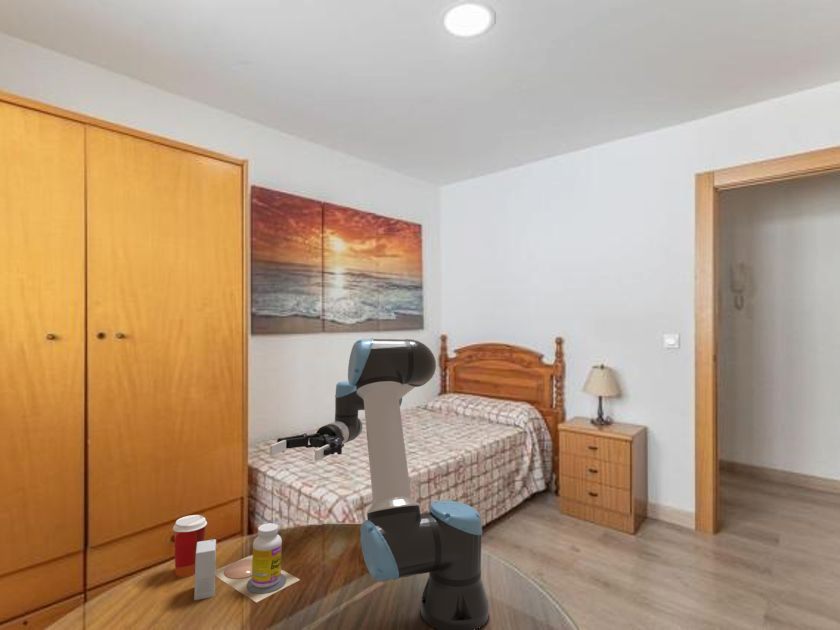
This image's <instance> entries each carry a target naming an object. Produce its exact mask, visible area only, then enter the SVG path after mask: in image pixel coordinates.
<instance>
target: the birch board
mask: <svg viewBox="0 0 840 630" xmlns="http://www.w3.org/2000/svg"><path fill="white" fill-rule="evenodd" d="M252 558H253V554H251V555H248V556H246V557H244V558H242V559H239V560H238V561H240V560H246V559H252ZM230 564H231V563H229V564H226V565H225V566H222V567H220V568H218V569H215V578H217V579H219V580H220V581H222V582H223V583H225V584H227V585H228V586H230V587H231V588H233V589H234V590H236V591H238V592H239V593H241V594H242V595H244V596H245V597H246V598H249V599H250V600H252V601H253V602H254V603H256V604H257V603H259V602H261V601H262V600H264V599H266V598H268V597H270V596H272V595H275V594H276V593H279V592H280V591H282V590H283V589H286V588H287V587H289V586H291V585H294V584H295V583H297V582H299V581H300V580H301V579H299V578H298V577H296V576H294V575H293V574H290V573H288V572H287V571H285V570H283V569H281V574H283V575H284V576H285V577H286V583H285V585H284V586H283V587H282V588H280V589H279V590H277V591H274V592H271V593H266V594H255V593H252V592H250V591H248V589H247V582H248V581H249V580H250V579H251V578H252V576H251V577H248V578H243V579H231V578H228V577H226V576H225V575H224V570H225V568H226V567H227V566H228V565H230Z"/></svg>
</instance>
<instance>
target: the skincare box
mask: <svg viewBox="0 0 840 630" xmlns="http://www.w3.org/2000/svg"><path fill="white" fill-rule="evenodd" d="M216 550H217V539H208V540H204V541H200V542H197V546H196V560H195V575H194V592H193V593H194V595H193V600H194V601H199V600H203V599H209V598H213V597H215V594H216V593H215V592H216V591H215V589H216V576H215V570H216V557H217V554H216V552H217V551H216Z"/></svg>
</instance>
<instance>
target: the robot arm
mask: <svg viewBox="0 0 840 630" xmlns="http://www.w3.org/2000/svg"><path fill="white" fill-rule="evenodd" d="M350 351H351V352H350V355H349V359H348V367H347V368H348V369H347V380H348V381H347V380H346V381H345V380H344V381H338V382H337V384H336V386H335V395H334V397H335V399H334V400H335V401H334V404H335V405H334V406H335V407H334V408H335V410H334V411H335V412H334V413H335V414H334V421H333V422H330V423H328V424H325V425H323V426H320V427H319V428H318V429H317V430H316V433H315V432H314V433H313V434H308V433H302V434H301V433H300V434H298V435H292V436H291V435H290V436H285V437H281V438H277V439H276V441H277V442H276V443H273V444H270V445H269V457H273V456H275V455H278V454H280V453H284V452H285V451H286V450H287V449H295V448H302V447H304V448H306V449H309V448H315V450H314V462H318V461H320V460H322V459H324V458H326V457H327V456H328V457H329V455H331V456H332V455H335V453H336V455H342V453H343V449H342V448H344V447H345V444H347V443H349V442H351V441H354V440H355V439H356V438H357V437H359V436H360V435H361V434H362V431H363V424H362V421H361V419H360V418H359V411H364V419H365V429H366V438H367V439H366V440H367V441H366V442H367V452H368V462H369V474H370V484H371V486H370V487H371V495H372V505H371V506H370V507H369V509H368V510H367V511H366V516H367V520H364V521H363V522H362V523H361V525H360V528H359V532H360V535H359V537H360V546H361V551H362V555H363V560H364V562H365V563H364V564H365V565H366V568H367V570H368V573H369V574H370V576H371V577H372V578H373V579H374V580H376V581H380V582H384V581H389V580H393V581H397V580H399V579H401V578H407V577H414V576H418V575H422V574H428V577H427V579H426V582H425V583H426V584H425V586H424V589H423V591H422V595H421V599H420V614H421V617H422V619H423V621H425V623H426V624H428V625H429V626H430V627H432V628H433V627H434V629H435V628H436V629H435V630H438V629H439V630H474V629H477V630H479V629H480V628H479V627H481V626H482V627H484V626H485V624H486V623H487V621H488V620H489V615H490V614H489V610H490V609H489V601H488V599H487V594H486V591H485V586H484V584H483V580H482V535H483V525H482V517H481V514H480V513H479V511H478V510H476V509H475V508H474V507H472V506H471V505H468V504H465V503H463V502H460V501H454V500H436V501H434V502H432V503H430V506H429V509H428V510H429V512H423V513H421V507H420V504H419V503H418V502H417V501H416V500H415V499H413V497H412V494H411V493H412V491H411V486H410V477H409V470H408V462H407V453H406V446H405V438H404V431H403V423H402V422H403V421H402V416H401V415H402V414H401V406H402V403H403V398H404V396H406V395H407V394H409V393H410V392H411V391H412V390H414V389H415V388H419V387H422V386H424V385H425V384H427V383H428V382H429V381H431V380H432V378H433V377H434V375H435V373H436V369H437V361H436V357H435V355H434V353H433V352H432V350H431V349H430V348H429V347H428V346H427V345H426V344H424V343H423V342H420V341H419V340H415V339H411V338H409V339H408V338H407V339H393V338H392V339H391V338H390V339H389V338H387V339H385V338H373V337H372V338H365V339H363V338H362V339H358V340H356V341H355V342H354V343H353V345H352V347H351V350H350ZM316 448H317V449H316ZM482 627H481V628H482ZM478 628H479V629H478Z"/></svg>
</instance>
